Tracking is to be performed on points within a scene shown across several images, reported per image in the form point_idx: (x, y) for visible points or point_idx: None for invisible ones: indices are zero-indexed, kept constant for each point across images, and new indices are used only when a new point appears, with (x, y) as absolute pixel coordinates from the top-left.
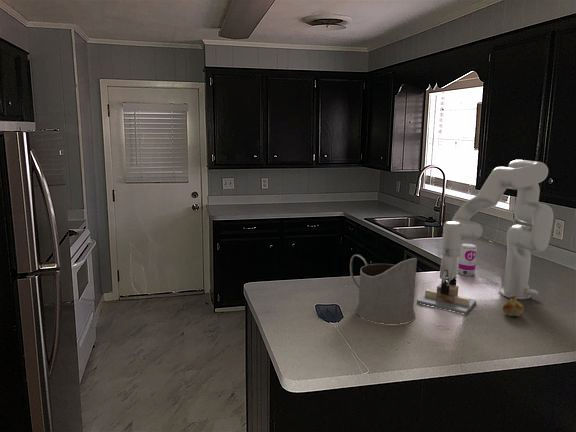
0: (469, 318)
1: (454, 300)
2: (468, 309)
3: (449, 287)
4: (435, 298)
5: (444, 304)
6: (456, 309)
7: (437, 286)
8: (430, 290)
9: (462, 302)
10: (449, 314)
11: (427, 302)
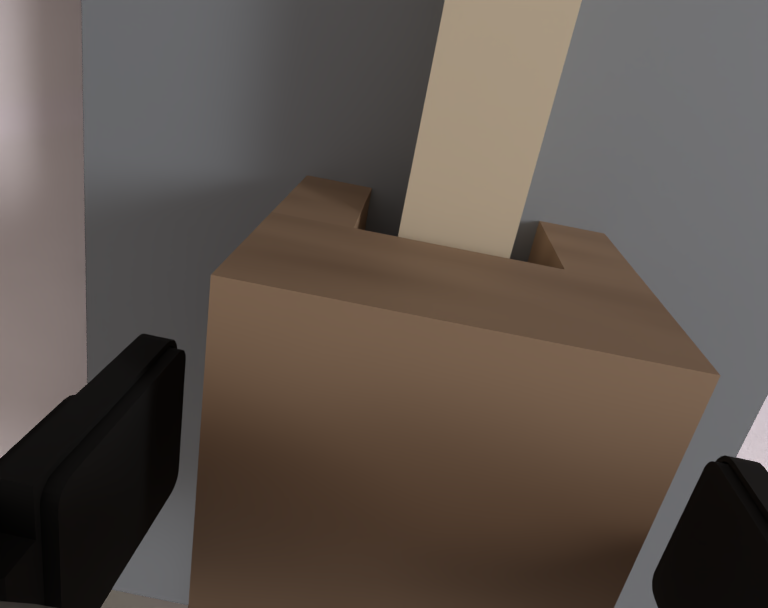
0: None
1: None
2: None
3: (334, 570)
4: (404, 153)
5: (177, 333)
6: None
7: (230, 284)
8: (525, 13)
9: None
10: (6, 388)
11: (83, 33)
